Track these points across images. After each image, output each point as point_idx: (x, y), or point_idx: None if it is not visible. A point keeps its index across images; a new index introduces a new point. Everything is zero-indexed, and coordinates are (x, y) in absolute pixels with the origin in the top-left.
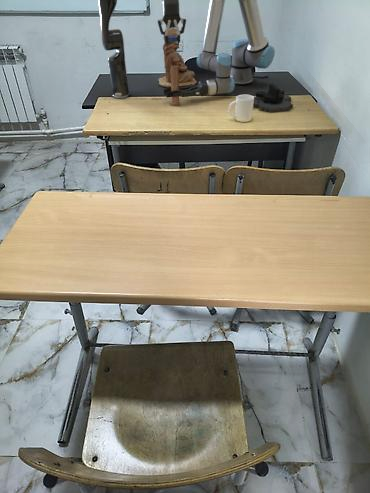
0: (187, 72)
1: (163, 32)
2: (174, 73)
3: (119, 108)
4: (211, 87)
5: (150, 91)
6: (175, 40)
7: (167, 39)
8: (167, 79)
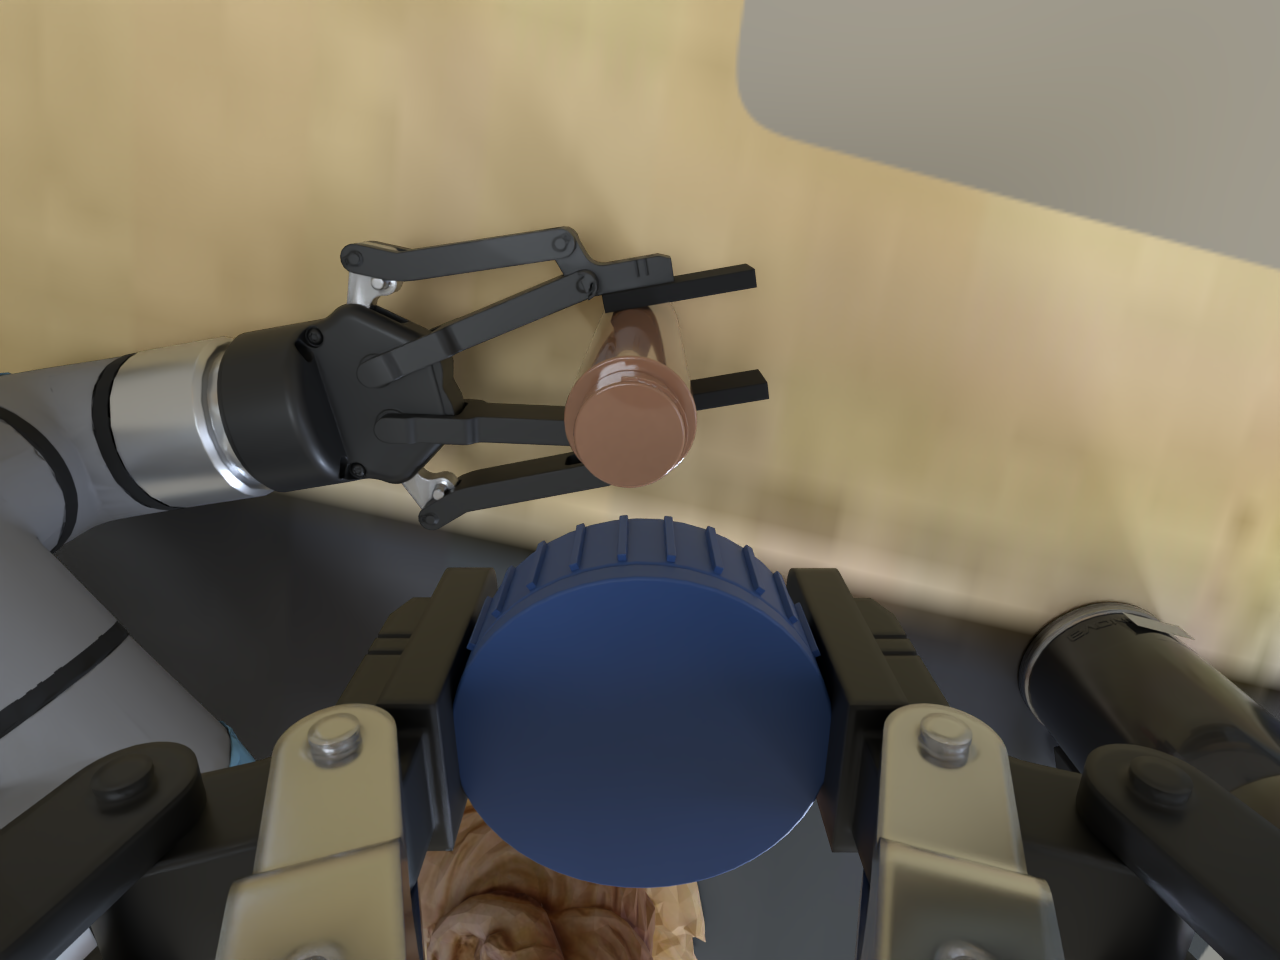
0: (436, 899)
1: (1085, 840)
2: (640, 346)
3: (1203, 339)
4: (188, 349)
5: None
6: (553, 551)
7: (835, 636)
8: None
